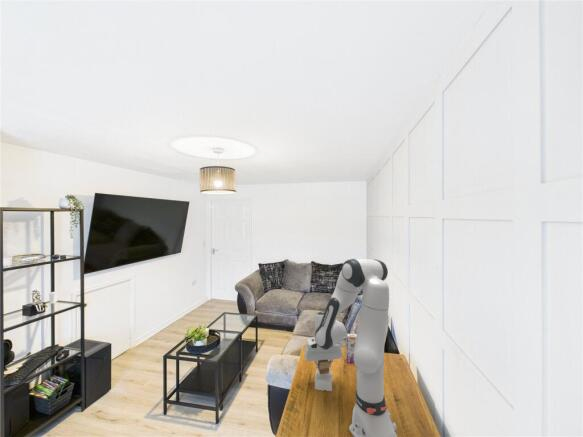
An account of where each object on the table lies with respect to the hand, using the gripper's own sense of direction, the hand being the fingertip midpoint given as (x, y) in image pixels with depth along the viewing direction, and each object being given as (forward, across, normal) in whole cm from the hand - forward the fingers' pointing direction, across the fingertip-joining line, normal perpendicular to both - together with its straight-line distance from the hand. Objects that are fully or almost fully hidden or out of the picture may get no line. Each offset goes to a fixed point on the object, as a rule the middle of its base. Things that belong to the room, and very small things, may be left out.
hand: (323, 367), depth 133 cm
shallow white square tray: (+10, 0, 0) cm, 10 cm away
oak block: (+2, 0, 0) cm, 2 cm away
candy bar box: (+10, -26, -18) cm, 33 cm away
